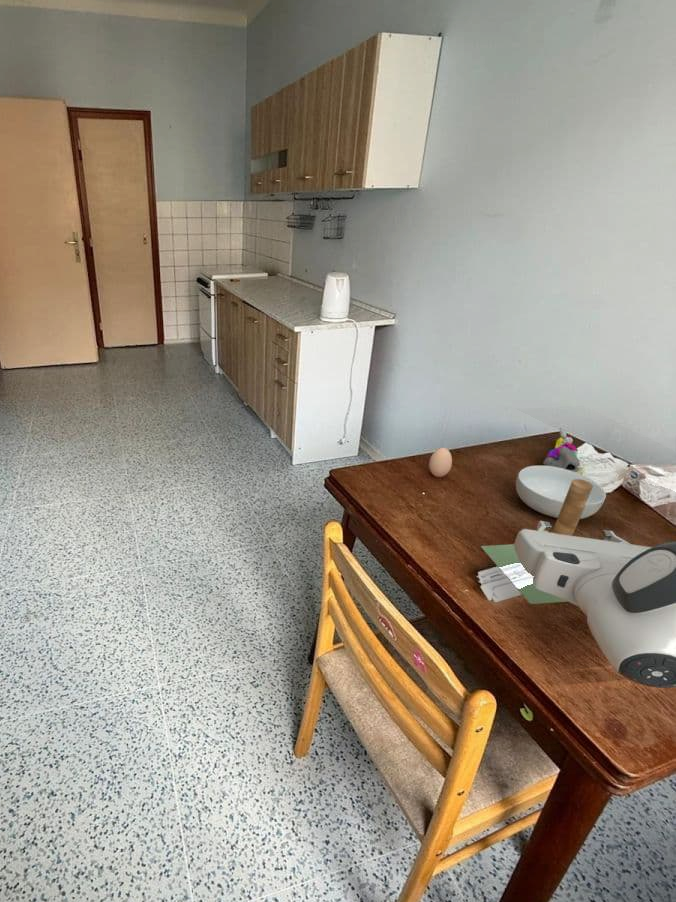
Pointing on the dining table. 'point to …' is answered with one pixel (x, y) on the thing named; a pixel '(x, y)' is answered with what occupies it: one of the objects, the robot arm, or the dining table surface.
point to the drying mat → (508, 556)
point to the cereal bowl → (554, 490)
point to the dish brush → (572, 507)
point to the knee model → (564, 455)
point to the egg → (440, 462)
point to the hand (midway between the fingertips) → (573, 528)
